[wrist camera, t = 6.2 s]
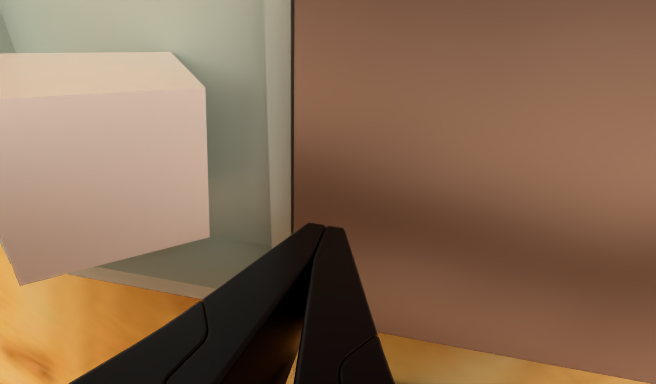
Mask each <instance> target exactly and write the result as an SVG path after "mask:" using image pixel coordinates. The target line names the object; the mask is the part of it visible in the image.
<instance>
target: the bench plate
mask: <svg viewBox="0 0 656 384" xmlns="http://www.w3.org/2000/svg"><path fill="white" fill-rule="evenodd" d="M307 223H316V224H322V225H325V227H327V226H334V227H341V228H344V230H345V232H346V235H347V238H348V241H349V245H350V248H351V251H352V254H353V257H354V260H355V264H356V267H357V270H358V273H359V276H360V280H361V283H362V286H363V289H364V292H365V295H366V299H367V302H368V305H369V308H370V311H371V315H372V318H373V321H374V324H375V327H376V330H377V332H379V333H384V334H390V335H395V336H400V337H406V338H411V339H416V340H422V341H427V342H432V343H438V344H443V345H448V346H454V347H459V348H464V349H470V350H475V351H480V352H486V353H491V354H496V355H502V356H507V357H512V358H518V359H523V360H528V361H534V362H539V363H544V364H550V365H555V366H561V367H566V368H571V369H577V370H582V371H587V372H593V373H598V374H603V375H609V376H614V377H619V378H625V379H630V380H635V381H641V382H646V383H651V384H656V0H295V12H294V232H296V231H297V230H299V229H300V228H301V227H303V226H304V225H305V224H307Z"/></svg>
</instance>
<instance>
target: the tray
mask: <svg viewBox="0 0 656 384" xmlns="http://www.w3.org/2000/svg"><path fill="white" fill-rule="evenodd" d="M294 12H295V0H0V53H99V52H171V53H172V54H173V55H174V56H175V57H176V58H177V59H178V60H179V61H180V62H181V63H182V64H183V65H184V66H185V67H186V68H187V69H188V70H189V71H190V72H191V73H192V74H193V75H194V76H195V77H196V78H197V79H198V81H199V82H200V83H201V84H202V85H203V86H204V87H205V93H206V127H207V161H208V195H209V230H210V237H209V238H205V239H201V240H197V241H193V242H189V243H185V244H181V245H177V246H173V247H169V248H166V249H162V250H158V251H154V252H150V253H146V254H142V255H138V256H134V257H130V258H126V259H123V260H119V261H115V262H111V263H107V264H103V265H99V266H95V267H91V268H87V269H83V270H80V271H76V272H72V273H68V274H69V275H74V276H80V277H85V278H90V279H96V280H101V281H106V282H112V283H117V284H122V285H128V286H133V287H138V288H144V289H149V290H155V291H160V292H165V293H171V294H176V295H181V296H187V297H192V298H197V299H203V298H205V297H206V296H207V295H209V294H210V293H212V292H213V291H214V290H216V289H217V288H219V287H220V286H221V285H223V284H224V283H225V282H227V281H228V280H230V279H231V278H232V277H234V276H235V275H236V274H238V273H239V272H241V271H242V270H243V269H245V268H246V267H248V266H249V265H250V264H252V263H253V262H254V261H256V260H257V259H259V258H260V257H261V256H263V255H264V254H265V253H267V252H268V251H270V250H271V249H272V248H274V247H275V246H276V245H278V244H279V243H281V242H282V241H283V240H285V239H286V238H288V237H289V236H290V235H292V234H293V233H294ZM0 243H1V245H2V247H3V249H4V251H5V253H6V255H7V257H8V254H7V252H6V249H5V247H4V244H3V242H2V239H1V237H0ZM8 259H9V257H8ZM9 261H10V259H9ZM10 264H11V262H10Z"/></svg>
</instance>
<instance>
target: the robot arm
mask: <svg viewBox="0 0 656 384" xmlns="http://www.w3.org/2000/svg"><path fill="white" fill-rule="evenodd" d="M202 301H203V302H202ZM202 301H199V302H198V303H196V304H195V305H193V306H192V307H191V308H189V309H188V310H187V311H185V312H184V313H182V314H181V315H179V316H178V317H176V318H175V319H174V320H172V321H171V322H169V323H168V324H166V325H165V326H163V327H162V328H160V329H159V330H157V331H155V332H154V333H152V334H151V335H149V336H147V337H146V338H144V339H142V340H141V341H139V342H138V343H136V344H134V345H133V346H131V347H129V348H128V349H126V350H124V351H123V352H121V353H119V354H118V355H116V356H114V357H113V358H111V359H109V360H107V361H106V362H104V363H102V364H101V365H99V366H97V367H96V368H94V369H92V370H91V371H89V372H87V373H86V374H84V375H82V376H80V377H79V378H77V379H75V380H74V381H72V382H70V383H69V384H286V381H287V379H288V376H289V373H290V371H291V368H292V365H293V363H294V360H295V357H296V355H297V352H298V349H299V352H298V358H297V364H296V371H295V377H294V384H395V382H394V379H393V377H392V374H391V372H390V369H389V366H388V363H387V360H386V358H385V355H384V352H383V349H382V346H381V342H380V339H379V337H378V334H377V330H376V327H375V324H374V321H373V318H372V315H371V311H370V308H369V305H368V302H367V299H366V295H365V292H364V289H363V286H362V283H361V280H360V276H359V273H358V270H357V267H356V264H355V260H354V257H353V254H352V251H351V248H350V245H349V241H348V238H347V235H346V232H345V230H344V228H341V227H334V226H327V227H325V225H322V224H316V223H307V224H305V225H304V226H303V227H301V228H300V229H299V230H297V231H296V232H294V233H293V234H292V235H290V236H289V237H288V238H286V239H285V240H283V241H282V242H281V243H279V244H278V245H276V246H275V247H274V248H272V249H271V250H270V251H268V252H267V253H265V254H264V255H263V256H261V257H260V258H259V259H257V260H256V261H254V262H253V263H252V264H250V265H249V266H248V267H246V268H245V269H243V270H242V271H241V272H239V273H238V274H236V275H235V276H234V277H232V278H231V279H230V280H228V281H227V282H225V283H224V284H223V285H221V286H220V287H219V288H217V289H216V290H214V291H213V292H212V293H210V294H209V295H207V296H206V297H205V298H203V300H202Z"/></svg>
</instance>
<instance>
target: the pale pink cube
mask: <svg viewBox="0 0 656 384" xmlns="http://www.w3.org/2000/svg"><path fill="white" fill-rule="evenodd" d="M0 237H1V239H2V242H3V244H4V247H5V249H6V252H7V254H8V257H9V259H10V262H11V264H12V267H13V270H14V272H15V275H16V277H17V280H18V282H19V285H20V286H21V285H25V284H29V283H33V282H37V281H40V280H44V279H48V278H52V277H56V276H60V275H64V274H68V273H72V272H76V271H80V270H83V269H87V268H91V267H95V266H99V265H103V264H107V263H111V262H115V261H119V260H123V259H126V258H130V257H134V256H138V255H142V254H146V253H150V252H154V251H158V250H162V249H166V248H169V247H173V246H177V245H181V244H185V243H189V242H193V241H197V240H201V239H205V238H209V237H210V230H209V195H208V161H207V127H206V93H205V87H204V86H203V85H202V84H201V83H200V82H199V81H198V79H197V78H196V77H195V76H194V75H193V74H192V73H191V72H190V71H189V70H188V69H187V68H186V67H185V66H184V65H183V64H182V63H181V62H180V61H179V60H178V59H177V58H176V57H175V56H174V55H173V54H172V53H171V52H99V53H0Z"/></svg>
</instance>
